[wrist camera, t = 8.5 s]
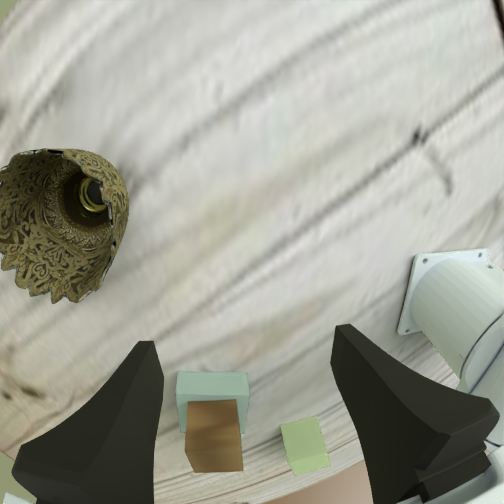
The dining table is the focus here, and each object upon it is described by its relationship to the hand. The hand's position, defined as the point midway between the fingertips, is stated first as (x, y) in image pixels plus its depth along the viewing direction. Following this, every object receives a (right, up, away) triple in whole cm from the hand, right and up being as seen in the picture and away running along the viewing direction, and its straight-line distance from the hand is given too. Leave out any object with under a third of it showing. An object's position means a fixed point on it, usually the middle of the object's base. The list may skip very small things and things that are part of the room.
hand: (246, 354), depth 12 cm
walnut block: (-3, -10, +13) cm, 16 cm away
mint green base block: (-4, -9, +15) cm, 18 cm away
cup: (-10, +8, +7) cm, 15 cm away
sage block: (+6, -16, +19) cm, 25 cm away
